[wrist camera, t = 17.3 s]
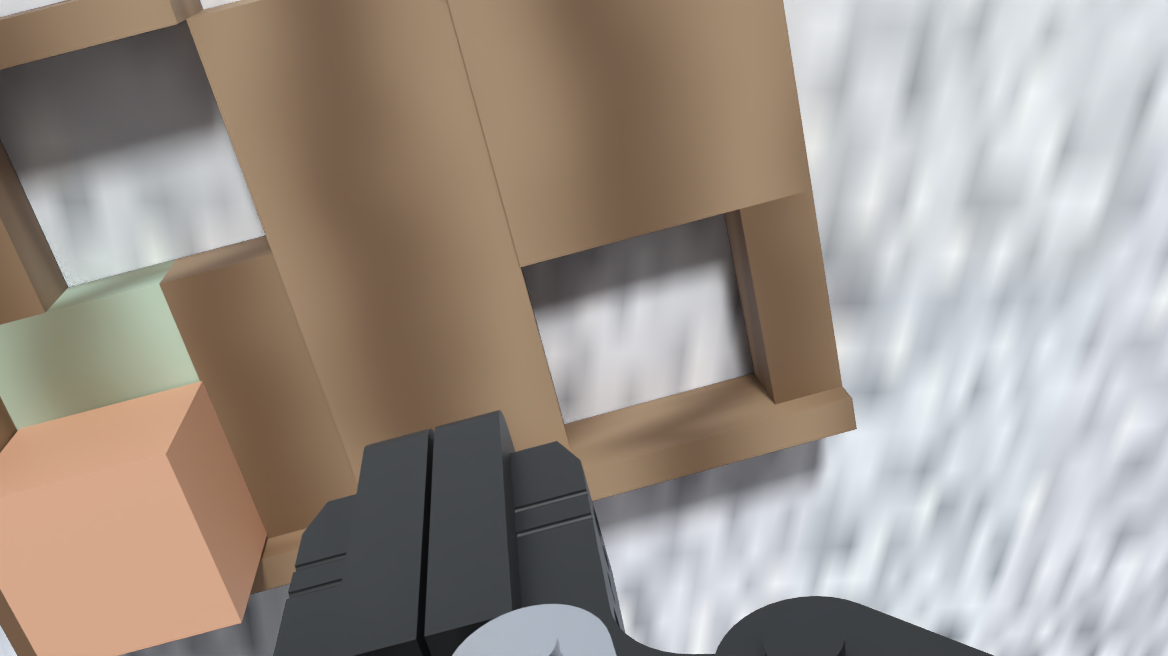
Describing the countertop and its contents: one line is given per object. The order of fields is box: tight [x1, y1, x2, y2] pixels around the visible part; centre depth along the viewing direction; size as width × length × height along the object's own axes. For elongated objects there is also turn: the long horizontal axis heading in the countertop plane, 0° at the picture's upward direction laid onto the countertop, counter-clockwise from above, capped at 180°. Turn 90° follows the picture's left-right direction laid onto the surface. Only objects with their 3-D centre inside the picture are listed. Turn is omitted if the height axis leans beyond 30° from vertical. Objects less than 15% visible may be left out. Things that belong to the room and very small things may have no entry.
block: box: [0, 381, 267, 656], centre depth 28 cm, size 5×5×4 cm
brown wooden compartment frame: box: [0, 0, 857, 656], centre depth 28 cm, size 23×16×5 cm
